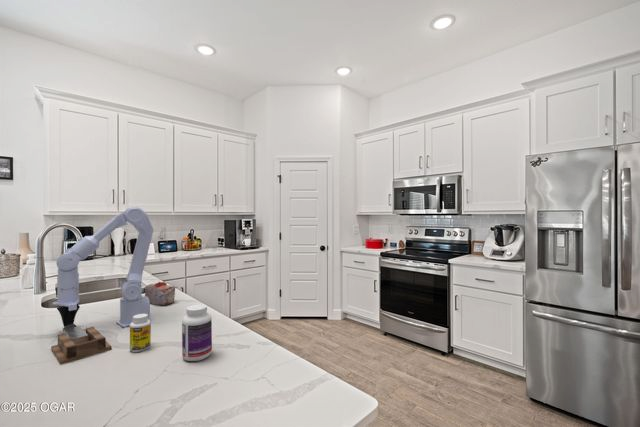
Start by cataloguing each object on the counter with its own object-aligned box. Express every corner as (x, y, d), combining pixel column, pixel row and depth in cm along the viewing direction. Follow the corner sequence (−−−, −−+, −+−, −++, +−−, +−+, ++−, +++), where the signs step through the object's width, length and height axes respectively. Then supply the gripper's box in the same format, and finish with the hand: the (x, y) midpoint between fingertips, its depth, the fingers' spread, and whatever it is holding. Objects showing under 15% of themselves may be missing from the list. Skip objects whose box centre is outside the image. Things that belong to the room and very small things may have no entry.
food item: (178, 302, 140) (178, 281, 140) (163, 307, 133) (163, 285, 133) (156, 299, 145) (156, 279, 145) (141, 304, 138) (141, 282, 138)
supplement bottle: (129, 354, 89) (129, 320, 89) (129, 347, 93) (129, 314, 93) (151, 349, 92) (151, 316, 92) (150, 343, 96) (150, 311, 96)
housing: (51, 349, 92) (51, 336, 92) (98, 337, 101) (98, 325, 101) (60, 364, 83) (60, 350, 83) (111, 349, 92) (111, 336, 92)
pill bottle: (217, 352, 90) (217, 304, 90) (198, 365, 83) (198, 312, 83) (195, 348, 93) (195, 301, 93) (175, 360, 85) (175, 309, 85)
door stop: (62, 335, 101) (62, 325, 101) (77, 332, 104) (77, 321, 104) (72, 349, 91) (72, 337, 91) (88, 344, 94) (88, 333, 94)
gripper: (49, 286, 105) (49, 324, 106) (57, 293, 96) (57, 336, 96) (74, 282, 111) (74, 319, 111) (84, 289, 101) (84, 329, 101)
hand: (68, 326), depth 104 cm, fingers closed
